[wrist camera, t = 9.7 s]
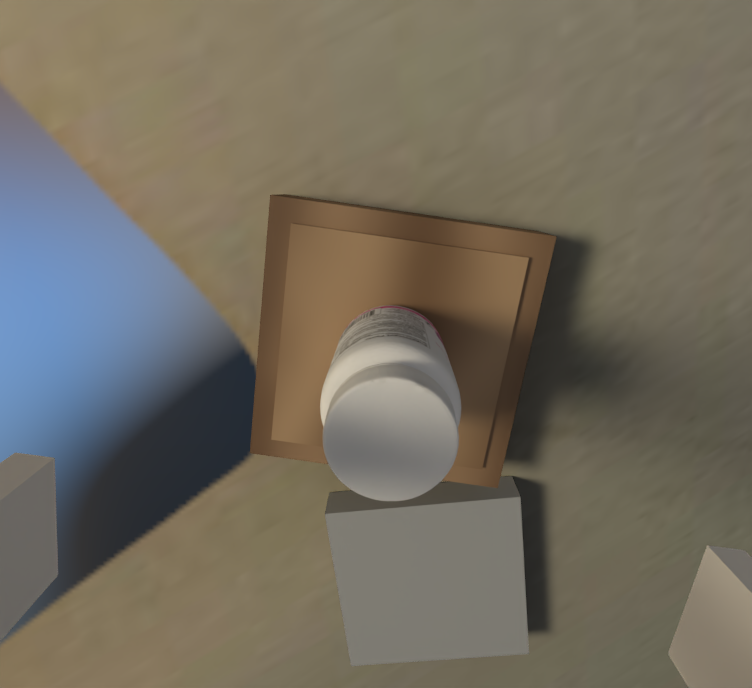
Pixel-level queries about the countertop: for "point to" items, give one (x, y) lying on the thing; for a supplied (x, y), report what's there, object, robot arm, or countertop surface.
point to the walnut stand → (398, 288)
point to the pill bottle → (390, 406)
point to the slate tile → (430, 573)
